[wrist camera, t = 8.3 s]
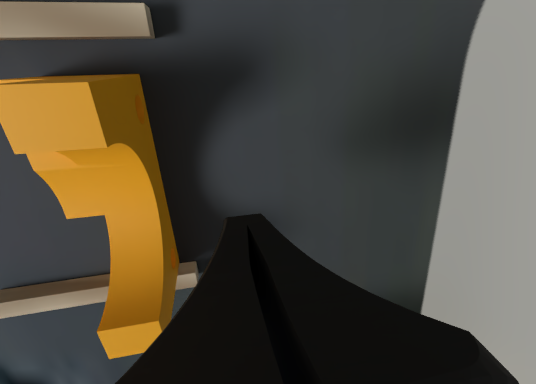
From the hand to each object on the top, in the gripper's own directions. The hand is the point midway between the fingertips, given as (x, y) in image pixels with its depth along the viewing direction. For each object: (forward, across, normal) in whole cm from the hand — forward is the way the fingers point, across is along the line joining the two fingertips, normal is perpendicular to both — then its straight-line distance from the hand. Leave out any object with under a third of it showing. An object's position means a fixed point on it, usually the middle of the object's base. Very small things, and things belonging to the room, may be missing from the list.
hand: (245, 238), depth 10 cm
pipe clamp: (+8, +6, 0) cm, 10 cm away
